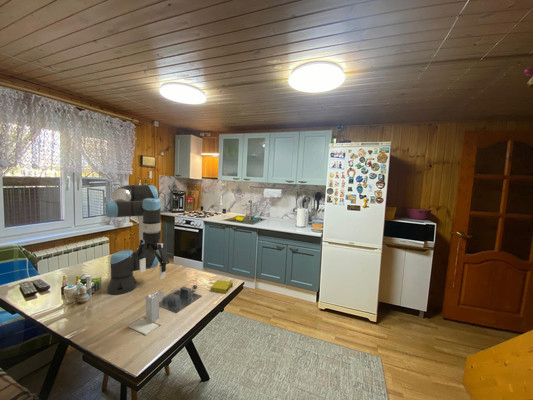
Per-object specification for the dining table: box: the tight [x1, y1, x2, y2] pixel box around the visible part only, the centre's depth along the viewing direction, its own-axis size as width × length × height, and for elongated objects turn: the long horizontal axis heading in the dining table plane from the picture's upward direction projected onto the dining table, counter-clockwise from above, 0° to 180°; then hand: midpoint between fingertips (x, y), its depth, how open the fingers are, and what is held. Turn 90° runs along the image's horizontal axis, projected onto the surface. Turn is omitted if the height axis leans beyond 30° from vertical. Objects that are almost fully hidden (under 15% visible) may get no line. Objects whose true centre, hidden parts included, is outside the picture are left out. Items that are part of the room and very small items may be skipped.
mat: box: [128, 317, 162, 336], centre depth 110 cm, size 12×16×1 cm
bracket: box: [208, 279, 234, 294], centre depth 144 cm, size 16×8×15 cm
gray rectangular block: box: [145, 290, 165, 324], centre depth 111 cm, size 4×7×12 cm, turn 155°
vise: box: [159, 284, 203, 314], centre depth 130 cm, size 16×23×6 cm
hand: (152, 274), depth 108 cm, fingers open, 13 cm apart
